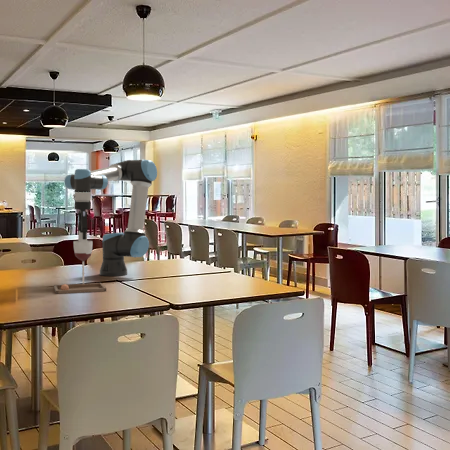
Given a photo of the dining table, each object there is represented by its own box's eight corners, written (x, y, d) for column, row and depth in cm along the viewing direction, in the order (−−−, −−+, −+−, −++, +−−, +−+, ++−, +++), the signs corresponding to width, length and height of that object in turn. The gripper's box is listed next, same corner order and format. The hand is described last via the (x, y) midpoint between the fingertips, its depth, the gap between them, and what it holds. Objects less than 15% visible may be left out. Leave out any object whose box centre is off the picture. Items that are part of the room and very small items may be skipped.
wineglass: (96, 285, 282) (96, 240, 281) (85, 288, 273) (85, 242, 272) (81, 284, 285) (80, 240, 284) (70, 287, 276) (69, 241, 275)
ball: (68, 291, 261) (68, 283, 261) (69, 292, 258) (68, 284, 258) (60, 291, 260) (60, 283, 260) (60, 292, 257) (60, 285, 257)
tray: (101, 287, 276) (101, 282, 276) (106, 293, 261) (106, 288, 261) (54, 289, 269) (54, 285, 269) (56, 295, 254) (55, 290, 254)
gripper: (72, 201, 288) (72, 243, 288) (76, 201, 264) (77, 247, 265) (87, 201, 290) (87, 243, 291) (93, 201, 267) (93, 247, 267)
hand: (82, 245), depth 278 cm, fingers open, 13 cm apart
